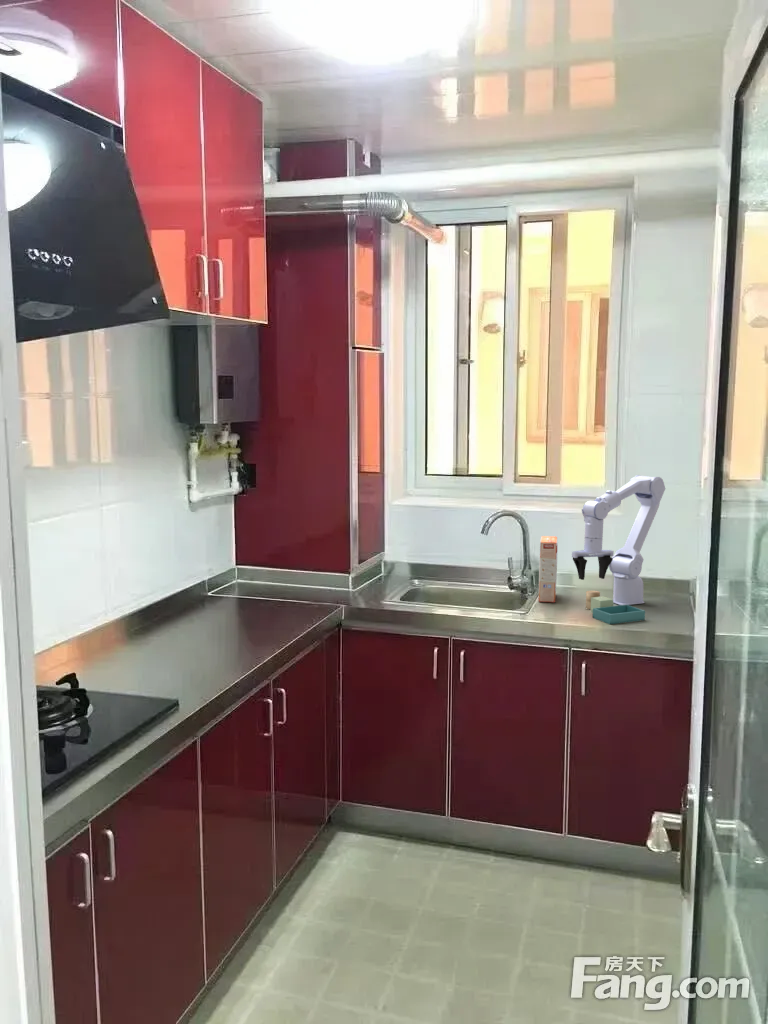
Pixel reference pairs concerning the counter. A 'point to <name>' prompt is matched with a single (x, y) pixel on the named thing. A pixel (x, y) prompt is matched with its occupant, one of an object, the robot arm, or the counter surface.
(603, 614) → the bin
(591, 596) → the cork cylinder
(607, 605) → the sage cube
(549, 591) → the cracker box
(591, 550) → the robot arm
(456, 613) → the counter surface
